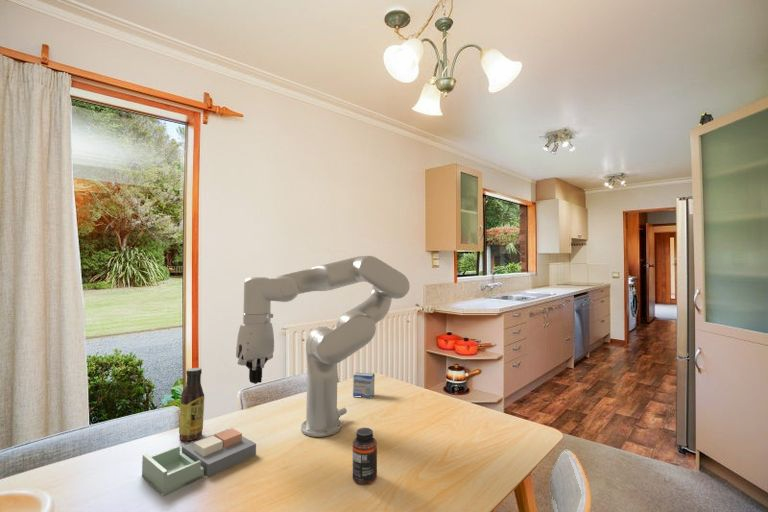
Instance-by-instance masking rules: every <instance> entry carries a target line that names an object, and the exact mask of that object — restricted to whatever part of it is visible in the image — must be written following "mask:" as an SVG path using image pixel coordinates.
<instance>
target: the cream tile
mask: <svg viewBox="0 0 768 512" xmlns="http://www.w3.org/2000/svg"><path fill="white" fill-rule="evenodd" d="M209 436H210V437H209ZM209 436H206V437H207V438H206V437H204V438H205V439H203V438H201V439H202V440H201V439H198V440H199V441H198V440H196V441H197V442H195V441H193V442H194V451H196V452H197V453H199V454H200V455H202V456H203V457H204V456H206V455H209V454H211V453H213V452H216V451H218V450H221V449H223V441H222V440H220V439H218V438H217V437H215V436H211V435H209Z"/></svg>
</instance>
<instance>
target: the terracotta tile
mask: <svg viewBox="0 0 768 512" xmlns="http://www.w3.org/2000/svg"><path fill="white" fill-rule="evenodd" d="M228 429H229V430H227V429H225V430H226V431H225V430H222V431H223V432H222V431H220V432H221V433H219V432H217V433H218V434H217V433H214V434H215V437H217V438H218V439H220V440H222V441H223V447H224V448H225V447H228V446H230V445H233V444H235V443H238V442H240V441H242V436H243V432H240V431H239V430H236V429H235V428H232V427H231V428H228Z"/></svg>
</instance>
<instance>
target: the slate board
mask: <svg viewBox="0 0 768 512" xmlns="http://www.w3.org/2000/svg"><path fill="white" fill-rule="evenodd" d="M229 429H230V428H228V429H225V430H222V431H219V432H217V433H214V434H212V435H209V436H206V437H203V438H201V439H198V440H196V441H193V442H190V443H187V444H184V445H182V446H181V452H182V453H183V454H185V455H186V456H188V457H189V458H190V459H192V460H193V461H195V462H196V461H198V460H200V461H201V466H202V467H203V468H204V476H206V477H207V478H210V477H211V476H213V475H216V474H218V473H220V472H222V471H225V470H227V469H229V468H231V467H233V466H235V465H237V464H240V463H241V462H244V461H247V460H248V459H250V458H252V457H254V456H256V455H257V443H256V442H255V441H252V440H250V439H248V438H246V437H245V436H243V435H242V441H240V442H238V443H235V444H233V445H230V446H228V447H225V448H224V447H223V449H221V450H218V451H216V452H213V453H211V454H209V455H206V456H204V457H203V456H202V455H200V454H199V453H197V452H196V451H194V442H197V441H199V440H202V439H205V438H207V437H210V436H215V434H218V433H221V432H223V431H226V430H229Z"/></svg>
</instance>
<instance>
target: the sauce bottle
mask: <svg viewBox="0 0 768 512" xmlns="http://www.w3.org/2000/svg"><path fill="white" fill-rule="evenodd" d="M185 372H186V382H185V383H186V384H185V386H184V389H183V390H182V392H181V396H180V397H181V399H180V400H181V401H180V406H179V407H180V409H179V411H180V412H179V428H178V434H179V435H178V436H179V440H180V441H182V442H188V441H189V442H190V441H194V440H196V439H199V438H200V437H201V436H202V434H203V430H204V414H205V413H204V411H205V392H204V390H203V387H202V381H201V379H202V378H201V376H202V368H201V367H191V368H188V369H187V370H186V371H185Z"/></svg>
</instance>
